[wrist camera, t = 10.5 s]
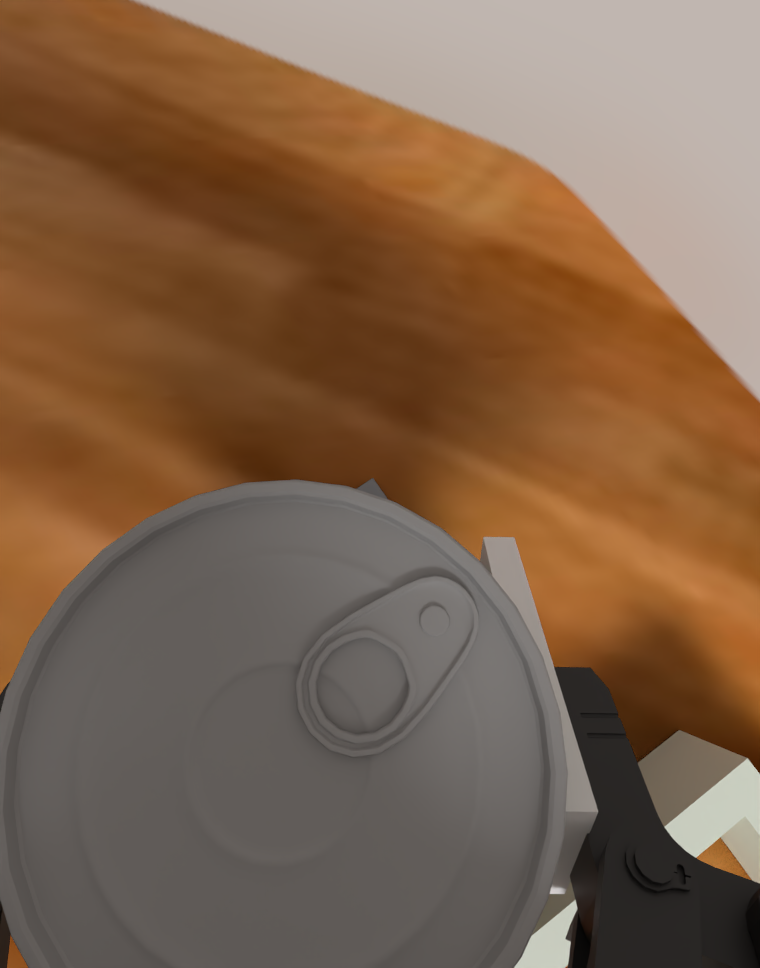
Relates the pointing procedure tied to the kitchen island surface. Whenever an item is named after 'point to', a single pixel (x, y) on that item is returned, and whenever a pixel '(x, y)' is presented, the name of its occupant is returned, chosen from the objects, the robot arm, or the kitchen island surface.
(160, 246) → the kitchen island surface
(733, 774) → the caddy
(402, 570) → the canned tomato
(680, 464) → the kitchen island surface
